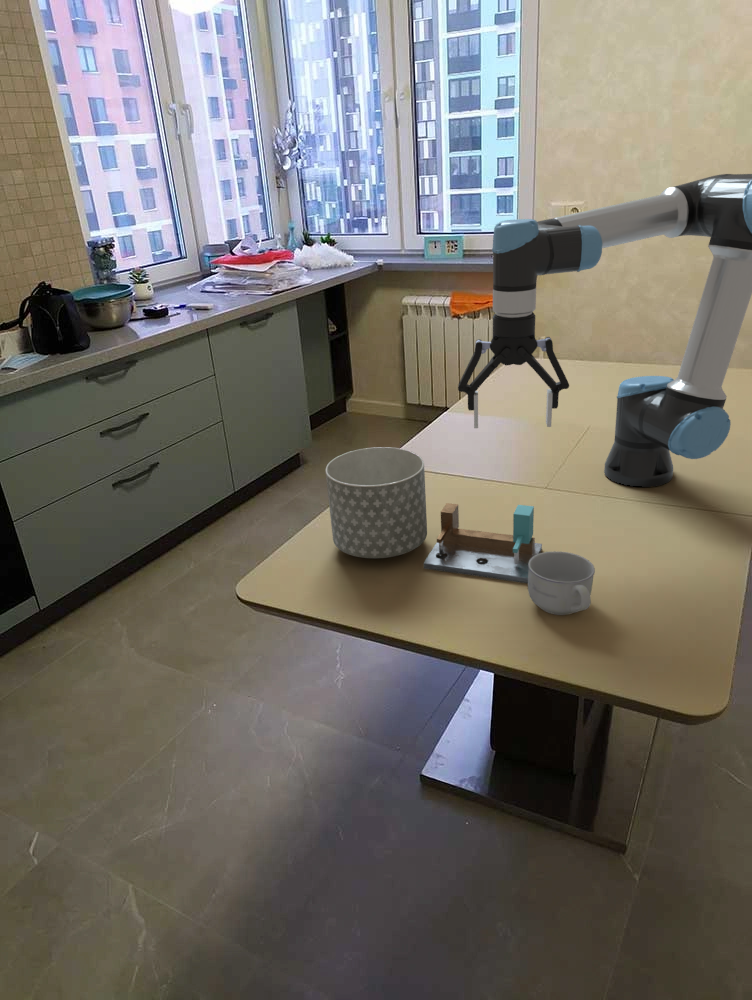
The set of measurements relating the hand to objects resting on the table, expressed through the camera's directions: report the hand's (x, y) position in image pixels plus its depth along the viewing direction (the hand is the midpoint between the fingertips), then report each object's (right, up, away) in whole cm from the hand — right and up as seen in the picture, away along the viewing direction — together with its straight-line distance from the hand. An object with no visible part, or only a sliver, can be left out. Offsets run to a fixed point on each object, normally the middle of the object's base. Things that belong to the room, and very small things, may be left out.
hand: (512, 425), depth 138 cm
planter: (-25, -24, +9) cm, 36 cm away
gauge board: (-5, -26, +2) cm, 26 cm away
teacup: (+6, -33, -15) cm, 37 cm away
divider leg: (+1, -25, -1) cm, 25 cm away
